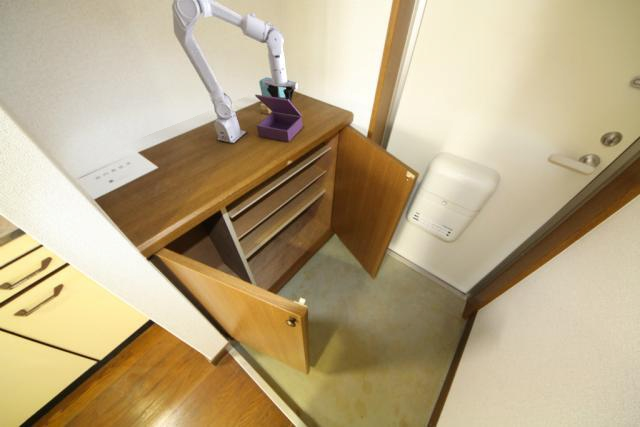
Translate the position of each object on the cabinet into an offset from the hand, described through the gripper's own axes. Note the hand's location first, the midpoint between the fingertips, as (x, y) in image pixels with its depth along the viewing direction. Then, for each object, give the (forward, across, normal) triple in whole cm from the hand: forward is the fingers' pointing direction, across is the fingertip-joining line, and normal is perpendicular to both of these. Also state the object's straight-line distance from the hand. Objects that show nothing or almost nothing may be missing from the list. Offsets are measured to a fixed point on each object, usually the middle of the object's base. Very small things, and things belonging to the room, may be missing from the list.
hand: (283, 105), depth 93 cm
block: (+9, +16, -10) cm, 21 cm away
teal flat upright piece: (+9, +16, -18) cm, 26 cm away
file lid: (-1, 0, +3) cm, 3 cm away
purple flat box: (+9, 0, +5) cm, 10 cm away
